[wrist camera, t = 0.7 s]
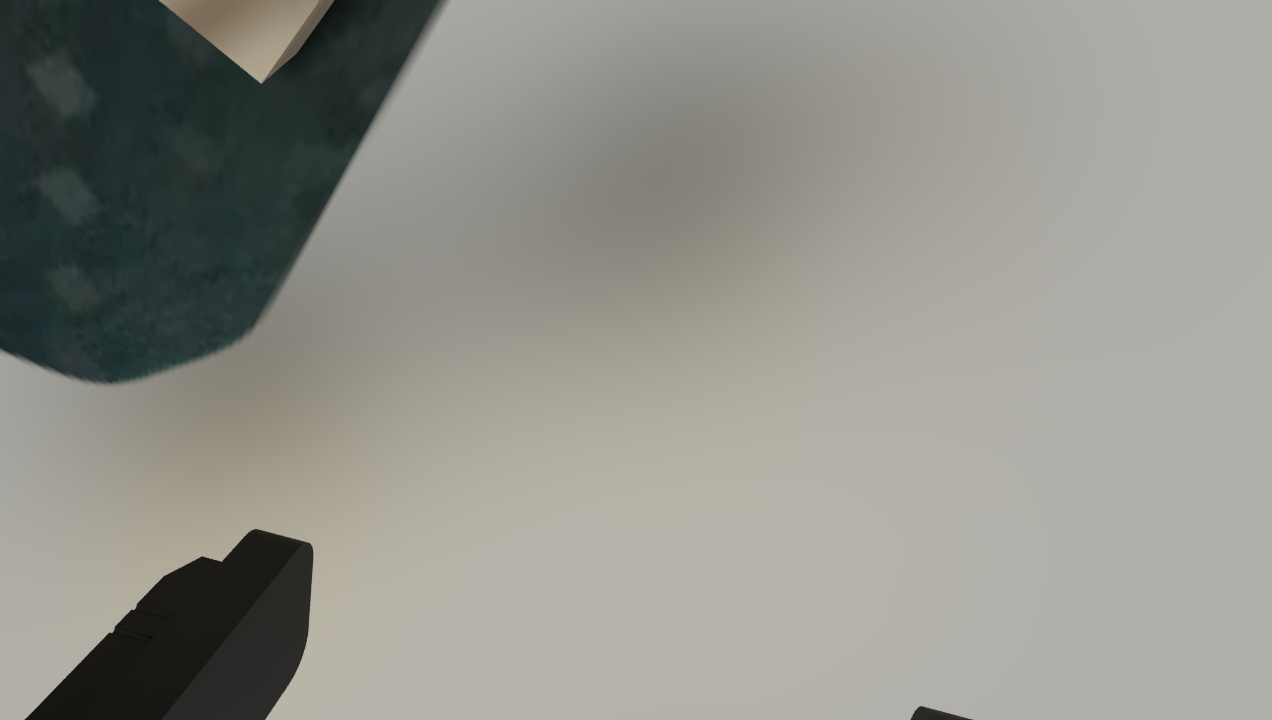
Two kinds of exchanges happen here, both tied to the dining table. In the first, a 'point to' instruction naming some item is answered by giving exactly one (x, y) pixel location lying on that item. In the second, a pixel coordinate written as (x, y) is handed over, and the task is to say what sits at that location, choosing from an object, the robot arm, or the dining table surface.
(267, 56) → the birch frame
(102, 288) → the dining table surface
